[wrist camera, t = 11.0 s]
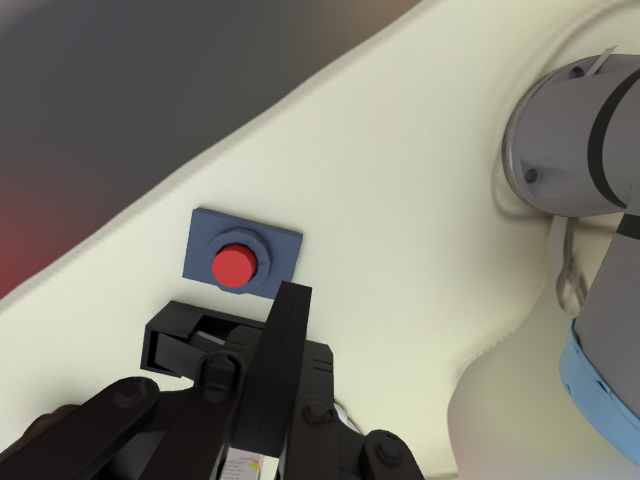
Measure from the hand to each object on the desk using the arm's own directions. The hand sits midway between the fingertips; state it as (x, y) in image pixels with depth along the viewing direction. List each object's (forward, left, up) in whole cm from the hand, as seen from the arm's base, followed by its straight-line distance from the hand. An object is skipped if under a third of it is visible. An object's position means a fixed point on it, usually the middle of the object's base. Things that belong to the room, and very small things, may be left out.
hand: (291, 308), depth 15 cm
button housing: (+6, +6, -20) cm, 22 cm away
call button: (+6, +6, -17) cm, 19 cm away
